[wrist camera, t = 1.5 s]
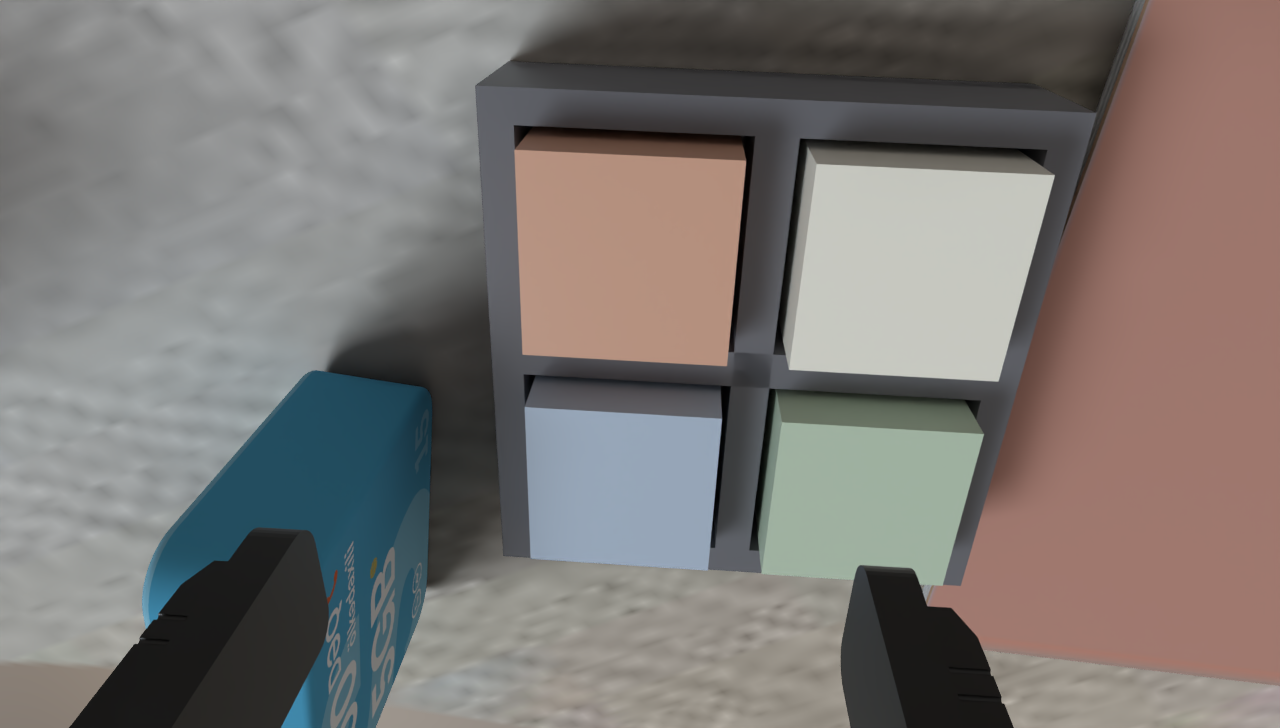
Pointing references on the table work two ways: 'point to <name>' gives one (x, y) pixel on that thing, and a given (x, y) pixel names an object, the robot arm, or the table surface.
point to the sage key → (862, 482)
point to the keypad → (758, 246)
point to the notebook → (1153, 376)
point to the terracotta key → (628, 243)
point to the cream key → (908, 257)
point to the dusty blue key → (622, 471)
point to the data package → (328, 529)
